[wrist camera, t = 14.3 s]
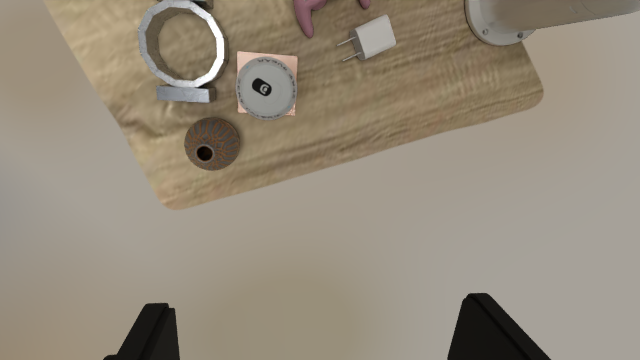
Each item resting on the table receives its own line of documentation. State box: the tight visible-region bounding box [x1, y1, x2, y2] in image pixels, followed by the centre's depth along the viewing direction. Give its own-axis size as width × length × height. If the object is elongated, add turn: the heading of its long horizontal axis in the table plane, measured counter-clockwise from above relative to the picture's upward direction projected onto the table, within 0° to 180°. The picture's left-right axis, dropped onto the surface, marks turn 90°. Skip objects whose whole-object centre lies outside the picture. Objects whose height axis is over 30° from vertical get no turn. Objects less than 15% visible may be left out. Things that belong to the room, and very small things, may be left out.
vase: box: [184, 118, 240, 171], centre depth 41 cm, size 7×7×9 cm
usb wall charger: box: [336, 14, 396, 61], centre depth 41 cm, size 4×7×4 cm, turn 113°
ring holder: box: [138, 0, 229, 103], centre depth 38 cm, size 13×10×5 cm
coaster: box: [237, 51, 298, 116], centre depth 43 cm, size 8×8×1 cm
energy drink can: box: [236, 57, 297, 120], centre depth 36 cm, size 6×6×15 cm
